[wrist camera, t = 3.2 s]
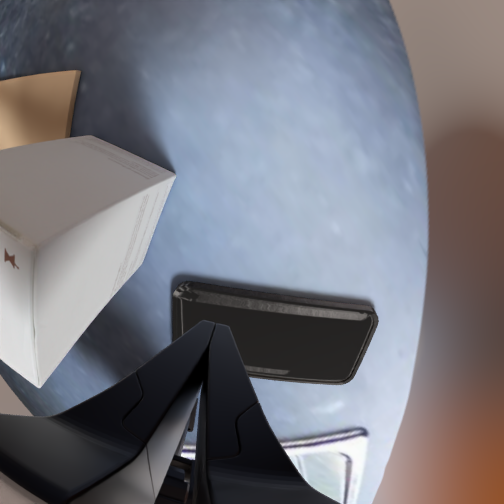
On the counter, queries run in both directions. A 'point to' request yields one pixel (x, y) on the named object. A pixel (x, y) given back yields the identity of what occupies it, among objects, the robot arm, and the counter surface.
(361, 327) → the phone
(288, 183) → the counter surface
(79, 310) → the supplement box
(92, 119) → the counter surface
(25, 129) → the wooden cutting board
